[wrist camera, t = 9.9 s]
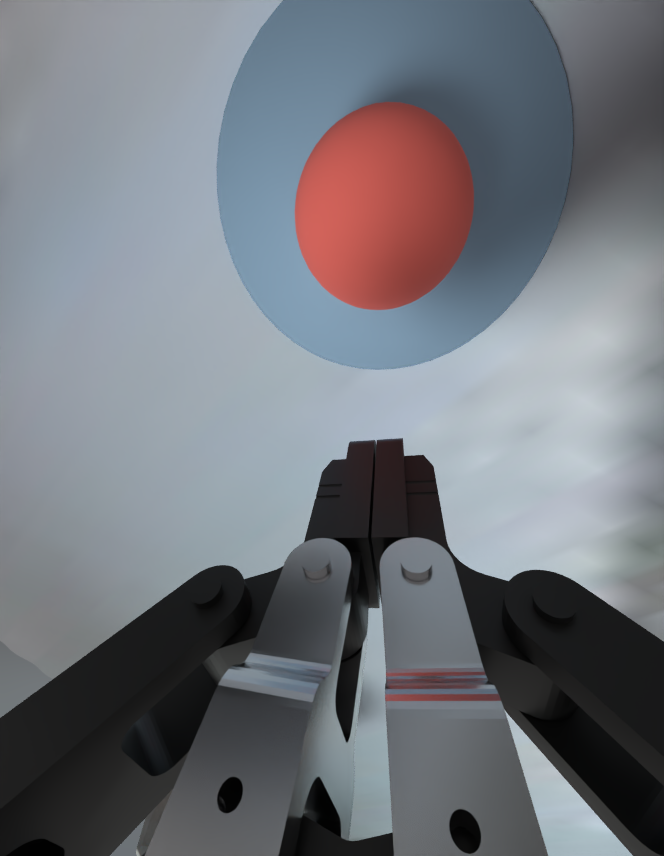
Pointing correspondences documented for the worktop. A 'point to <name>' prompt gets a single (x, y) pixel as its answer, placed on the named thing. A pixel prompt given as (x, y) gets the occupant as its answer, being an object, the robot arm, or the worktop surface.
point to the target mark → (422, 87)
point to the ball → (384, 206)
